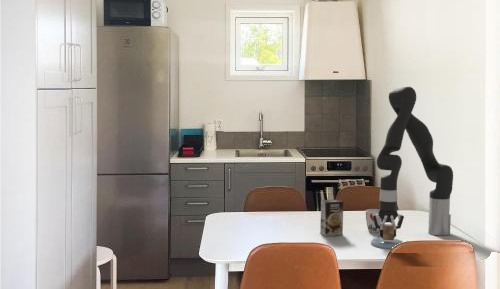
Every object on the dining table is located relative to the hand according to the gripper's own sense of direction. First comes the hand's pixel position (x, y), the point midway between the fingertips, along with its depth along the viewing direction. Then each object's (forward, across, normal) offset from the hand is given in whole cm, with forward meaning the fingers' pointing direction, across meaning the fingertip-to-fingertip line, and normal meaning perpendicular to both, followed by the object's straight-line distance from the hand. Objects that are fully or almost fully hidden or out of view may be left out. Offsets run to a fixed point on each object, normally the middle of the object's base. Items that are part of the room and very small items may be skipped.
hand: (387, 237), depth 248 cm
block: (+1, 0, 0) cm, 1 cm away
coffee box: (+3, +23, -17) cm, 29 cm away
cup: (+3, +2, -24) cm, 24 cm away
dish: (+3, 0, 0) cm, 3 cm away
